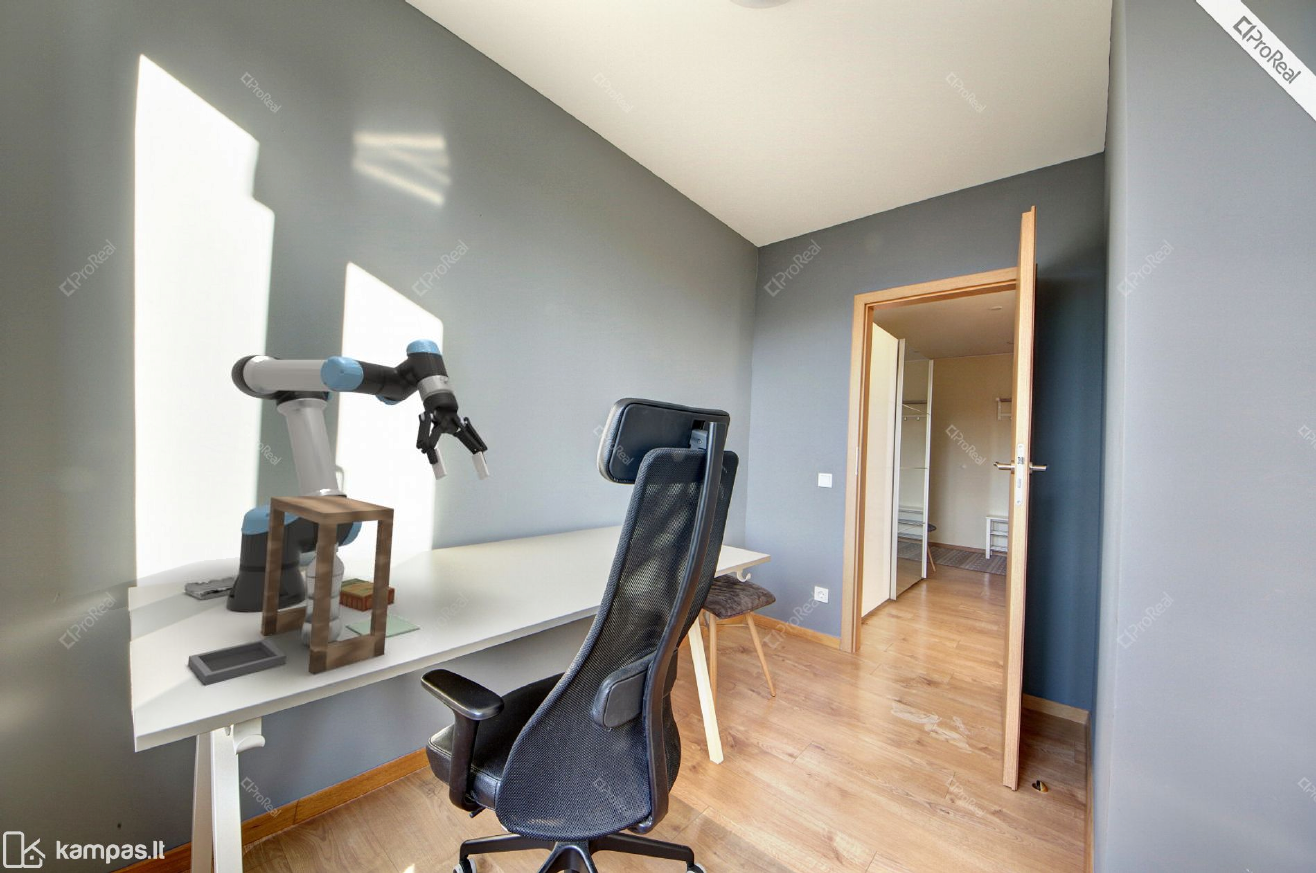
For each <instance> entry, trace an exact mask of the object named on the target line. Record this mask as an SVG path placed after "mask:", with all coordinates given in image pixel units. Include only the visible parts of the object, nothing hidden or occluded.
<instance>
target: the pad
mask: <svg viewBox="0 0 1316 873" xmlns="http://www.w3.org/2000/svg"><path fill="white" fill-rule="evenodd" d="M370 626H371V618H370V619H367V620H362V621H358V622H354V623H349V624H346V626H345V627H346V628H347V629H349V630H351V631H352V632H354V633H356V634H357V635H358V636H361V635H365V634H369V633H370ZM419 630H421V627H420V626H418V625H416V624H414V623H412V622H410V621H408V620H406V619H404V618H401V617H399V616H398V615H397V614H393V613H391V614H387V622H386V636H385V639H388V638H393V637H395V636H400V635H403V634H407V633H410V632H415V631H419Z"/></svg>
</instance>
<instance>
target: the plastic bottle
mask: <svg viewBox="0 0 1316 873" xmlns="http://www.w3.org/2000/svg"><path fill="white" fill-rule="evenodd" d="M314 553H315V554H316V555H315V557H313V559H312V560H311V561H309V564H307V566H306V568H305V571H304V572H305V582H306V584H305V585H306V598H307V599H306V606H307V608H306V614H305V621H304V623H303V627H302V628H301V633H300V635H301V641H302V642H303V643H304V645H306V646H309V647H310V641H311V627H312V613H313V599H314V585H315V571H316V557H317V544H316V550H315V551H314ZM337 553H339V547H338V542H335V549H334V563H333V577H332V591H331V605H330V619H329V633H328V644H330V643H334V642H337V640H338V638H339V637H340V636H341V631H342V620H341V617H340V616H341V615H340V614H341V613H340V611H341V609H340V604H339V599H340V596H339V595H340V590H341V584H342V581H344V580H343V579H344V574H345V568H346V567H345V565H344V562H343V561H342V559H341V558H340V557H339V556H338V554H337Z"/></svg>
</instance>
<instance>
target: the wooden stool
mask: <svg viewBox="0 0 1316 873" xmlns="http://www.w3.org/2000/svg"><path fill="white" fill-rule="evenodd" d="M269 505H270V518H269V532H268V545H267V558H266V572H265V585H264V599H263V611H261V612H262V614H261V615H262V616H261V626H260V628H261V630H260V634H261V635H262V636H263V637H268V636H271V634H273V635H276V634H283V633H286V632H290V631H295V630H299V628H300V629H302V627H303V623H304V621H305V614H306V608H307V605H304V606H299V607H298V606H297V607H292V608H288V609H281V610H279V609H278V601H279V587H280V574H281V560H282V547H283V533H284V519H285V512H286V513H289V514H293V515H296V516H299V517H302V518H305V519H308V520H311V521H314V522H317V523H319V529H318V543H317V553H316V555H317V557H316V556H315V557H316V571H315V585H314V599H313V613H312V627H311V641H310V646H309V655H308V656H309V657H308V670H307V671H308V673H310V674H311V675H312V676H314V675H317V674H321V673H325V672H327V671H331V670H335V669H338V668H341V667H346V666H348V665H349V666H350V665H353V664H356V663H358V662H361V661H365V660H369V659H373V658H376V657H379V656H382V655H385V648H386V647H385V646H386V638H385V636H386V622H387V615H388V608H389V607H388V606H389V605H388V592H389V587H390V575H391V573H390V572H391V564H392V563H391V562H392V544H393V543H392V542H393V533H394V532H393V530H394V518H395V516H394V515H395V509H394V508H393V507H388V506H383V505H379V504H375V503H370V502H367V501H363V500H359V499H358V500H357V499H354V498H350V497H347V498H346V497H342V496H338V495H323V496H301V495H300V496H277V497H275V496H274V497H270V504H269ZM375 521H377V529H376V539H375V558H374V568H373V570H374V572H373V582H372V583H373V597H372V609H371V613H370V616H371V617H370V619H371V626H370V633H369V634H365V635H358V636H353V637H349V638H345V639H341V640H338V641H335V642H333V643H330V644H328V633H329V619H330V605H331V591H332V577H333V563H334V549H335V542H336V535H337V524H340V523H352V522H362V523H364V522H375ZM294 629H295V630H294Z"/></svg>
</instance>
